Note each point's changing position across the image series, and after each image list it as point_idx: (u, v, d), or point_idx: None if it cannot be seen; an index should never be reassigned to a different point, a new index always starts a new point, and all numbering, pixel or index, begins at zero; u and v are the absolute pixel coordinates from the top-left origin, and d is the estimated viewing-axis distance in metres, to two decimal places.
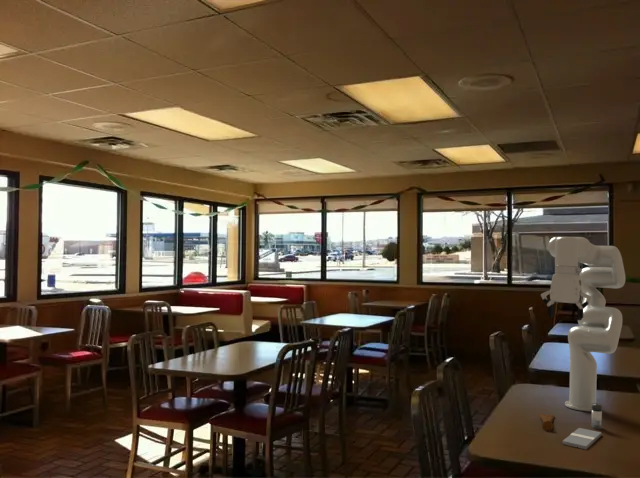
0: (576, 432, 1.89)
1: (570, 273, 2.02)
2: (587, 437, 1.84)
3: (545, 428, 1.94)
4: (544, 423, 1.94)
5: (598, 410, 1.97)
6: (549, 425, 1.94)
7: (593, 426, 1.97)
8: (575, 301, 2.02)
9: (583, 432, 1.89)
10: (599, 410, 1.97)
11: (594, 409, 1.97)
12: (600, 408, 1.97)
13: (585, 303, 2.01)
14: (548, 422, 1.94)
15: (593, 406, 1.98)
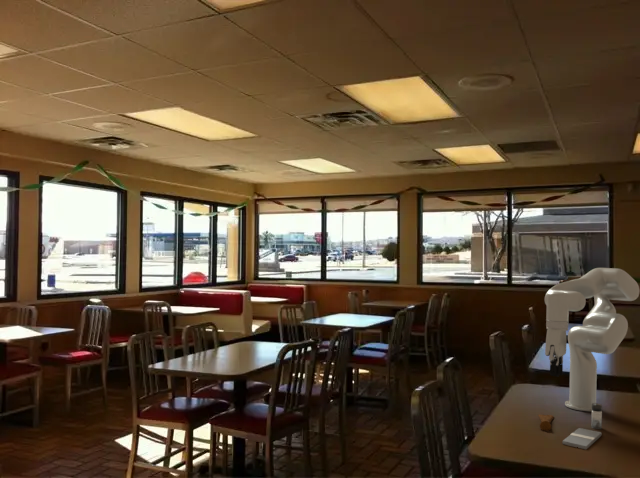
0: (576, 432, 1.89)
1: None
2: (587, 437, 1.84)
3: (543, 428, 1.94)
4: (542, 423, 1.94)
5: (598, 410, 1.97)
6: (547, 425, 1.94)
7: (593, 426, 1.97)
8: (565, 353, 2.13)
9: (583, 432, 1.89)
10: (599, 410, 1.97)
11: (594, 409, 1.97)
12: (600, 408, 1.97)
13: None
14: (546, 422, 1.94)
15: (593, 406, 1.98)
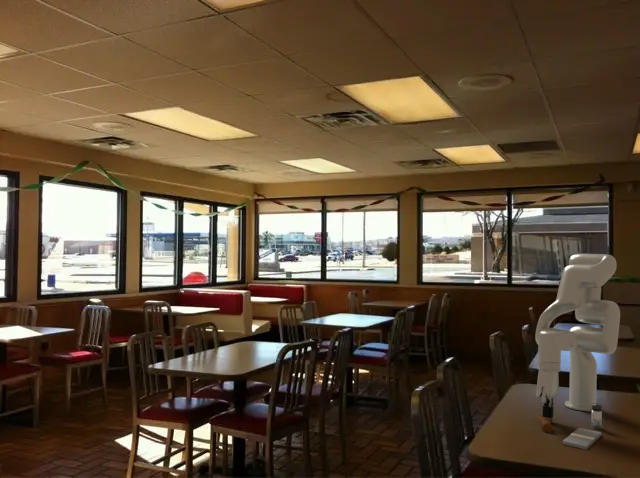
0: (576, 432, 1.89)
1: None
2: (587, 437, 1.84)
3: (545, 430, 1.92)
4: (544, 425, 1.93)
5: (598, 410, 1.97)
6: (549, 427, 1.92)
7: (593, 426, 1.97)
8: (557, 394, 2.06)
9: (583, 432, 1.89)
10: (599, 410, 1.97)
11: (594, 409, 1.97)
12: (600, 408, 1.97)
13: None
14: (548, 424, 1.92)
15: (593, 406, 1.98)
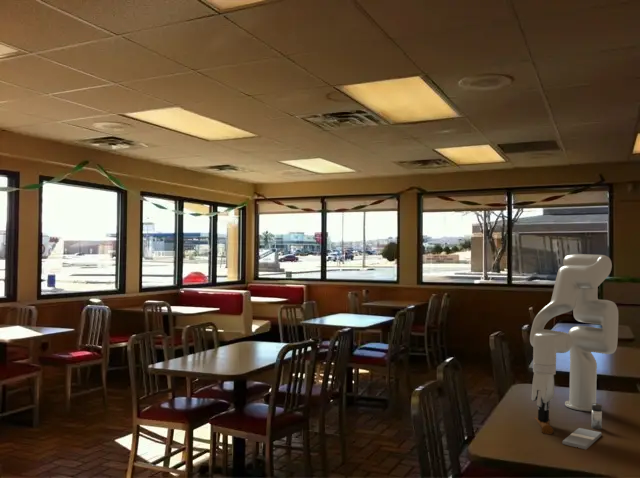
0: (576, 432, 1.89)
1: None
2: (587, 437, 1.84)
3: (545, 432, 1.91)
4: (544, 427, 1.91)
5: (598, 410, 1.97)
6: (549, 429, 1.91)
7: (593, 426, 1.97)
8: None
9: (583, 432, 1.89)
10: (599, 410, 1.97)
11: (594, 409, 1.97)
12: (600, 408, 1.97)
13: None
14: (548, 426, 1.91)
15: (593, 406, 1.98)
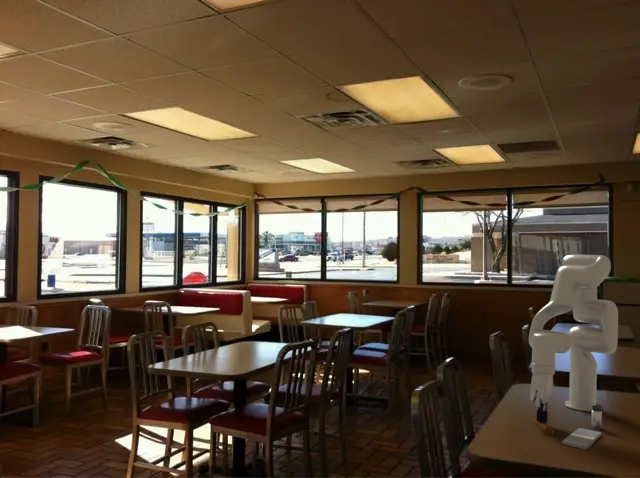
0: (576, 432, 1.89)
1: None
2: (587, 437, 1.84)
3: (547, 434, 1.89)
4: (546, 429, 1.89)
5: (598, 410, 1.97)
6: (551, 431, 1.89)
7: (593, 426, 1.97)
8: (551, 398, 2.01)
9: (583, 432, 1.89)
10: (599, 410, 1.97)
11: (594, 409, 1.97)
12: (600, 408, 1.97)
13: None
14: (550, 428, 1.89)
15: (593, 406, 1.98)
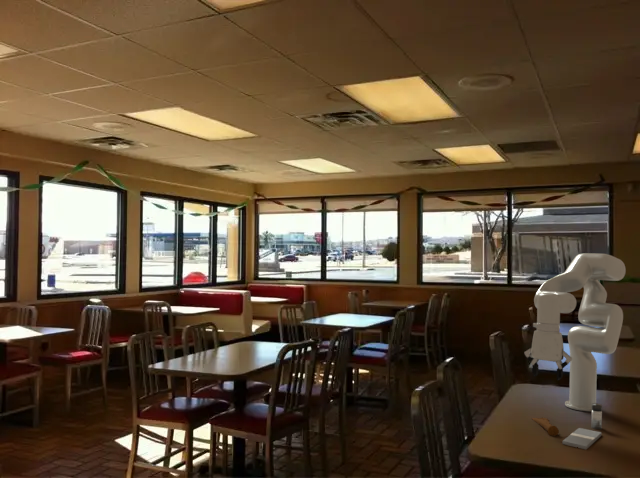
0: (576, 432, 1.89)
1: None
2: (587, 437, 1.84)
3: (551, 433, 1.88)
4: (550, 428, 1.89)
5: (598, 410, 1.97)
6: (555, 430, 1.88)
7: (593, 426, 1.97)
8: None
9: (583, 432, 1.89)
10: (599, 410, 1.97)
11: (594, 409, 1.97)
12: (600, 408, 1.97)
13: None
14: (554, 427, 1.89)
15: (593, 406, 1.98)
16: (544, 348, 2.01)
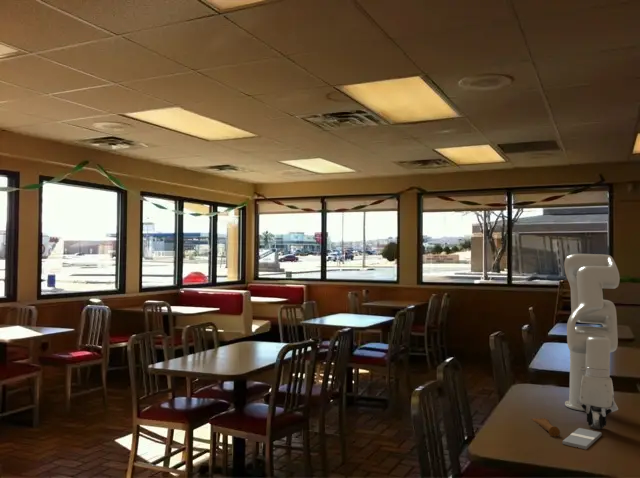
0: (576, 432, 1.89)
1: None
2: (587, 437, 1.84)
3: (552, 434, 1.88)
4: (551, 429, 1.88)
5: (598, 410, 1.97)
6: (556, 431, 1.88)
7: (593, 426, 1.97)
8: None
9: (583, 432, 1.89)
10: (599, 410, 1.97)
11: (594, 409, 1.97)
12: (600, 408, 1.97)
13: None
14: (555, 428, 1.88)
15: (593, 406, 1.98)
16: (594, 394, 1.96)
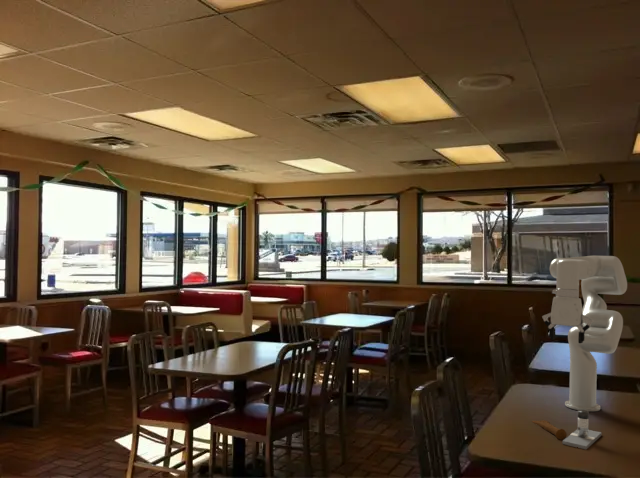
0: (576, 432, 1.89)
1: None
2: None
3: (559, 437, 1.85)
4: (558, 432, 1.85)
5: (584, 417, 1.84)
6: (563, 433, 1.85)
7: (579, 434, 1.84)
8: None
9: None
10: (585, 417, 1.84)
11: (580, 416, 1.84)
12: (587, 415, 1.84)
13: None
14: (562, 430, 1.85)
15: (579, 413, 1.84)
16: (564, 313, 2.05)
